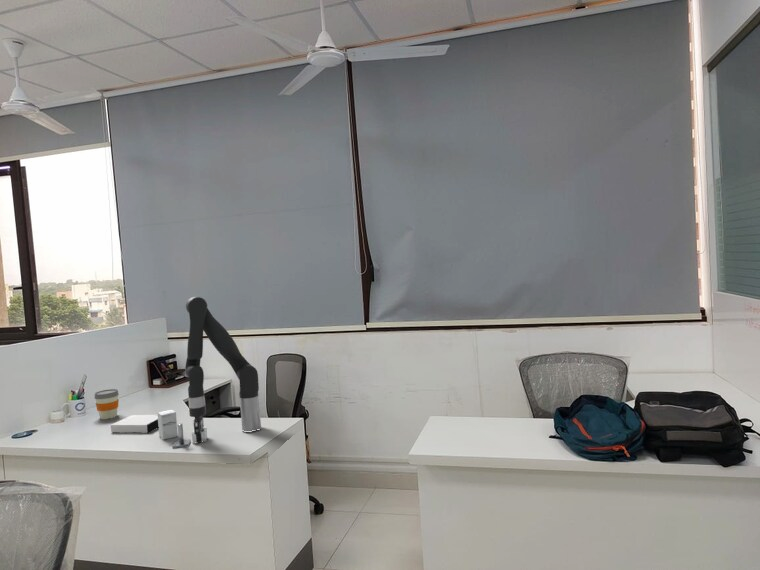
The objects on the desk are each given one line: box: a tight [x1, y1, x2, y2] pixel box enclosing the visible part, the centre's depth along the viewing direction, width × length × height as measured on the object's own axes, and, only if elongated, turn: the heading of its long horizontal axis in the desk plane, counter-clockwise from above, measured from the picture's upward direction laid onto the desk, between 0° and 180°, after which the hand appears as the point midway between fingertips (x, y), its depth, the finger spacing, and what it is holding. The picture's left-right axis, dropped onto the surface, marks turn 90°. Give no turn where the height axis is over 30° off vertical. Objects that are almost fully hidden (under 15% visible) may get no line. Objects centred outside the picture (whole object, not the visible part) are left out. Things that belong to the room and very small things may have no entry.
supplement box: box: [156, 409, 178, 441], centre depth 263 cm, size 7×7×13 cm
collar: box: [191, 427, 208, 444], centre depth 253 cm, size 6×6×5 cm
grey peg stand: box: [171, 423, 192, 449], centre depth 249 cm, size 7×7×10 cm
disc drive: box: [110, 414, 159, 434], centre depth 282 cm, size 18×22×5 cm
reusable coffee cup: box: [94, 388, 120, 420], centre depth 307 cm, size 12×13×15 cm
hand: (200, 439), depth 253 cm, fingers closed on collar, 6 cm apart
